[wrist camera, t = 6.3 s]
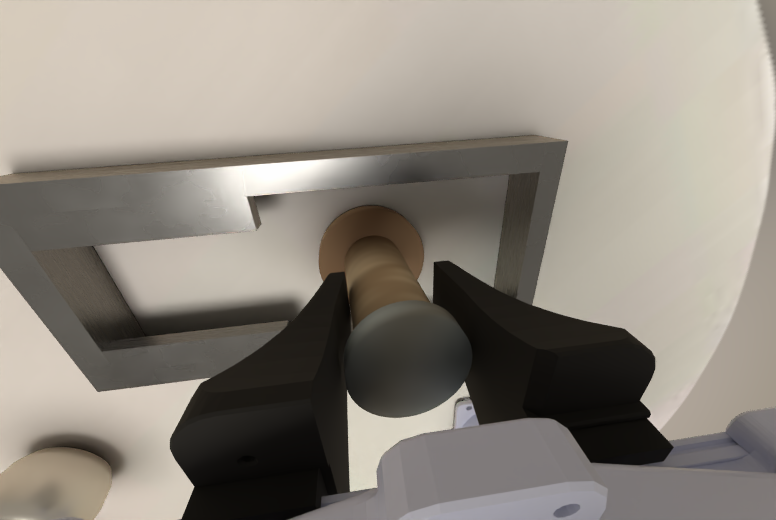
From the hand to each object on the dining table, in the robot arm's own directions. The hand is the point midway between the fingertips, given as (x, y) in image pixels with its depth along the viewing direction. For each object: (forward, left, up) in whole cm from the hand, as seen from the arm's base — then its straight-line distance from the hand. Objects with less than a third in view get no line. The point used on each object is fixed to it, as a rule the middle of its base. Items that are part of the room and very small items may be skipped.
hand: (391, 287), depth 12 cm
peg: (+1, +1, -4) cm, 4 cm away
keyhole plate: (+4, +1, -5) cm, 6 cm away
